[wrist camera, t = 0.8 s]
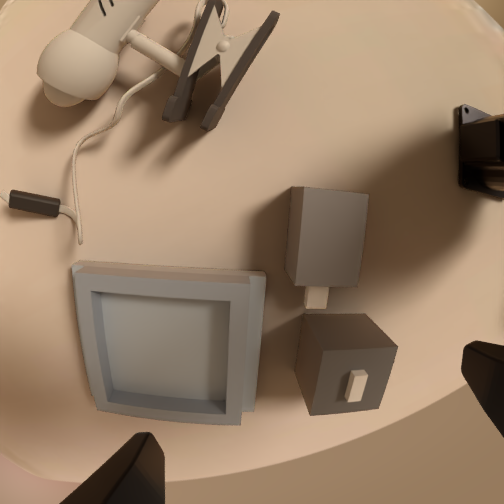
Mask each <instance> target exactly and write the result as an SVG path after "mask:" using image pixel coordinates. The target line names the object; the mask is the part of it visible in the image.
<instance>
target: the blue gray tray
mask: <svg viewBox="0 0 504 504" xmlns="http://www.w3.org/2000/svg"><path fill="white" fill-rule="evenodd" d="M72 277H73V288H74V298H75V307H76V315H77V322H78V329H79V335H80V341H81V347H82V353H83V358H84V363H85V368H86V373H87V378H88V382H89V386H90V391H91V395H92V396H94V399H95V403H96V407H97V410H99V411H105V412H110V413H115V414H121V415H127V416H133V417H140V418H147V419H155V420H163V421H173V422H183V423H196V424H212V425H241V415H242V412H254V409H255V399H256V389H257V378H258V368H259V357H260V346H261V335H262V324H263V312H264V300H265V289H266V274H265V272H264V271H247V270H227V269H208V268H190V267H172V266H156V265H140V264H124V263H109V262H95V261H81V260H79V261H78V262H76V263H74V264H72Z"/></svg>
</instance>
